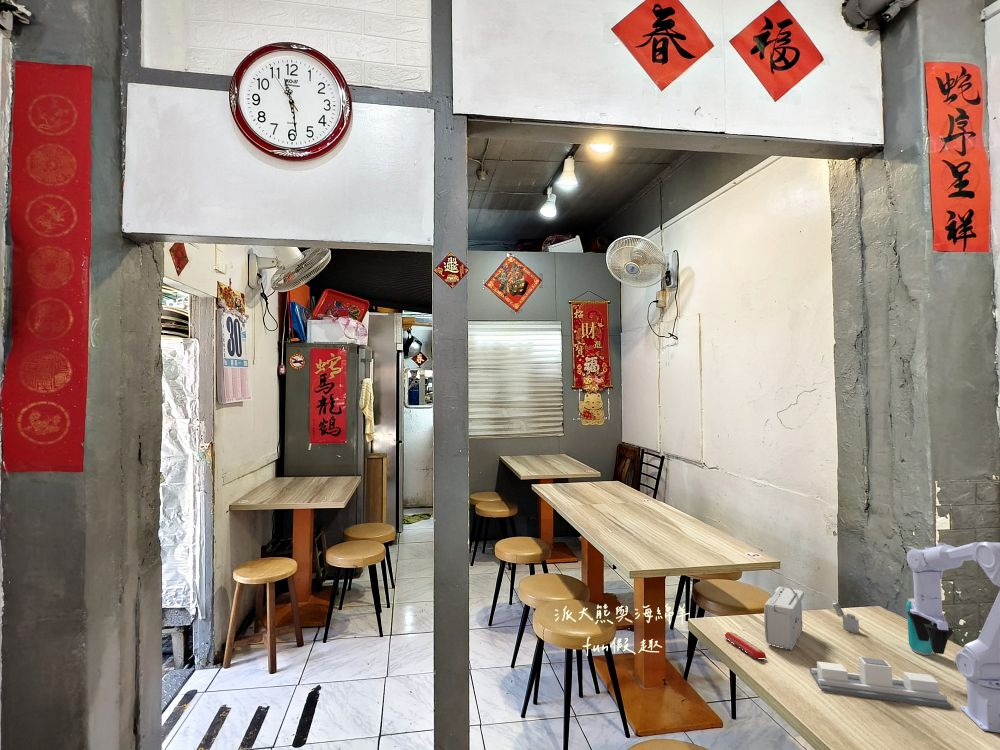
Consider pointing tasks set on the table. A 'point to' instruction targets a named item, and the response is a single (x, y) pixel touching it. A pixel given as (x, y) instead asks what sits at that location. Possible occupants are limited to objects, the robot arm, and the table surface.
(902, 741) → the table surface
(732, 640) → the red long bar
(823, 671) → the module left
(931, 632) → the robot arm
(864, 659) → the module block
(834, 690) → the rail
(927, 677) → the block
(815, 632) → the table surface
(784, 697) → the table surface
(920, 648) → the beverage can
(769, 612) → the stereo radio cassette player
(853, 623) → the lighter
